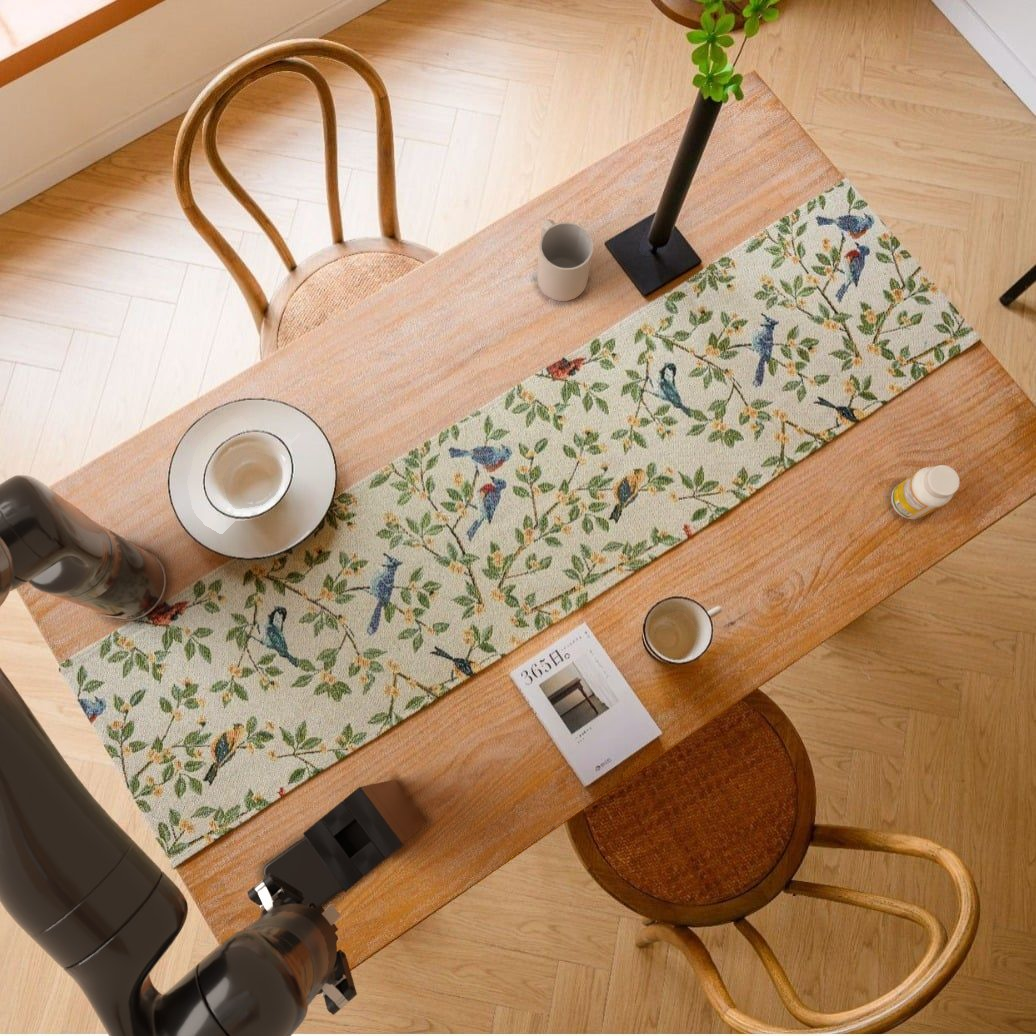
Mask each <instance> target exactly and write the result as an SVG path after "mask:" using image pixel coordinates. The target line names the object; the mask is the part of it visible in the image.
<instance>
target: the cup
mask: <svg viewBox="0 0 1036 1036" xmlns="http://www.w3.org/2000/svg"><path fill="white" fill-rule="evenodd" d="M593 252H594V240H593V238H592V235H591V234H590V233H589V231H588V230H587V229H586V228H585V227H583V225H580V224H578V223H575V222H570V221H560V222H555V221H554V220H553V219H548V218H547V219H545V220H544V221H543V222H542V223H541V225H540V240H539V245H538V255H537V256H538V258H537V268H536V269H537V271H536V278H537V279H536V281H537V284H538V287H539V289H540V290H541V292H542V294H544V295H545V296H546V297H548V298H549V299H552V300H555V301H559V302H568V301H571V300H574V299H576V298H578V297H579V296H581V294H582V293H583V292H584V290H585V289H586V288H587V284H588V281H589V280H588V279H589V275H590V269H591V265H592V264H591V263H592V258H593V254H594V253H593Z"/></svg>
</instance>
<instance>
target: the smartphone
mask: <svg viewBox="0 0 1036 1036" xmlns="http://www.w3.org/2000/svg"><path fill="white" fill-rule="evenodd" d="M404 843H405V842H404ZM404 843H403V844H402V845H401V846H399V847H398V848H397V849H396V850H395V851H394V852H392V853H391V854H390V855H389V856H388V857H386V858H385V859H384V860H383V861H382V862H381V863H383V862H384V861H386V860H387V859H388V858H390V857H391V856H392V855H394V854H395V853H396V852H398V851H399V850H400V849H401V848H402V847H403V845H404ZM381 863H379V864H378V865H380V864H381ZM270 873H272V874H273V875H275V876H276V877H278V878H280V879H281V880H283V881H285V882H286V883H288V884H289V885H291V886H293V887H294V888H296V889H297V890H299V891H300V892H301V893H302V894H303V897H304V900H303V901H302V902H301V903H302V904H303V905H306V906H307V905H308V904H311V903H314V904H315V906H316V907H319V906H320V905H321V906H322V907H323V906H325V905H327V903H328V902H330V901H332V900H333V899H334V898H335V897H337V896H338V895H339V894H341V893H342V892H343V891H344V890H343V888H342V887H341V885H340V884H339V883H338V881H337V880H336V879H335V877H334V876H333V874H332V873H331V872H330V870H329V869H328V867H327V866H326V865H325V863H324V862H323V861H322V859H321V858H320V856H319V855H318V854H317V852H316V851H315V850H314V848H313V847H312V845H311V844H310V843H309V841H308V840H307V839H306V837H305V836H303V837H302V838H300V839H299V840H297V841H296V842H294V843H293V844H292V845H290V846H289V847H287V848H286V849H285V850H284V851H282V852H281V853H280V854H278V855H276V857H274V858H272V859H271V860H270V861H268V862H267V863H266V864H265V865H264V867H263V868H262V874H263V878H265V877H266V876H267V875H268V874H270Z"/></svg>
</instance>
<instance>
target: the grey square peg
mask: <svg viewBox="0 0 1036 1036" xmlns="http://www.w3.org/2000/svg"><path fill="white" fill-rule="evenodd" d="M324 910H325V911H324V912H323V913H322V915H323V916H324V917H325V918H326V919H327V920H328V922H329V923H330V925H331V926H332V925H333V924H335V923H337V921H339V920H340V918H341V916H342V915H341V913H340V912H339V911H338V910H337V908H336V907H335V905H334V904H333V903H330V904H329V905H328V906H327V907H325V909H324Z"/></svg>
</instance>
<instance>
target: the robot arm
mask: <svg viewBox="0 0 1036 1036" xmlns="http://www.w3.org/2000/svg"><path fill="white" fill-rule="evenodd" d="M27 583H28V584H29V585H30V586H32V587H33V588H35V589H36V590H38V591H40V592H42V593H45V594H47V595H50V596H53V597H55V598H58V599H61V600H64V601H67V602H68V603H69V602H70V603H73V604H75V605H77V606H80V607H83V608H86V609H89V610H91V611H94V612H96V613H99V614H96V613H94V614H93V615H94V616H97V617H103V618H104V617H106V618H111V619H113V620H116V621H119V622H120V621H121V622H132V621H136V620H140V619H141V618H145V617H146V616H148V615H149V614H151V613H152V612H153V611H155V609H157V608H158V606H159V605H160V603H161V602H162V600H163V599H164V597H165V595H166V590H167V586H168V577H167V572H166V569H165V567H164V565H163V563H162V562H161V560H160V559H159V558H158V557H157V556H155V555H154V554H153V553H151V552H150V551H148V550H145V549H142V548H141V547H139V546H138V545H136V544H134V543H133V542H131V541H129V540H128V539H126V538H124V537H122V536H121V535H119V534H117V533H115V532H113V531H112V530H111V529H109V528H107V527H105V526H103V525H102V524H100V523H99V522H96V521H95V520H93V519H92V518H90V517H89V516H88V515H87V514H86V513H84V512H83V511H82V510H81V509H80V508H78V507H77V506H76V505H74V504H73V503H72V502H70V501H68V500H67V499H65V498H64V497H62V496H61V494H59V493H57V492H55V491H54V489H52V488H50V487H49V486H48V485H47V484H45V483H44V482H42V481H41V480H39V479H37V478H35V477H33V476H30V475H26V474H17V475H16V474H15V475H14V476H12V477H10V478H8V479H6V480H5V481H3V482H1V483H0V607H1V606H3V604H4V603H5V602H6V600H7V598H8V596H9V594H10V592H13V591H14V590H16V589H18V588H20V587H23V586H24V585H25V584H27ZM247 896H248V899H249V900H250V901H252V902H253V903H254V904H256V905H257V906H259V908H260V909H261V912H260V917H259V918H257V919H256V920H254V921H253V922H252V923H250V924H249V925H248V926H246V927H244V928H243V929H241V930H239V931H237V932H235V933H234V934H232V935H231V936H230V937H228V938H226V939H225V940H224V941H222V943H220V944H219V945H218V946H216V947H215V948H214V949H213V950H212V951H211V952H209V953H208V954H207V955H206V956H205V957H204V958H203V959H202V960H201V961H200V962H198V963H197V964H196V965H194V967H193V968H192V969H190V970H189V971H188V972H186V974H185V975H183V976H182V977H181V978H180V979H178V980H177V982H175V984H173V985H172V986H171V987H170V988H168V989H167V990H166V991H165V992H164V993H161V992H160V991H159V990H158V989H157V988H156V987H155V985H154V984H153V981H152V980H151V975H150V974H151V972H153V970H154V968H155V967H156V966H157V964H158V963H159V962H160V960H162V957H163V956H165V954H166V953H167V951H168V950H169V948H171V946H172V945H173V944H174V942H175V940H176V939H177V938H178V936H179V934H181V931H182V929H183V928H184V925H185V923H186V921H187V917H188V914H189V905H188V902H187V899H186V897H185V895H184V893H183V892H182V890H180V888H179V887H178V885H176V883H175V882H174V881H173V880H172V879H171V878H170V877H169V876H168V875H167V874H166V873H165V872H164V871H163V870H162V868H161V867H159V865H157V864H156V862H155V861H153V859H152V858H151V857H150V856H148V854H147V853H146V852H145V851H144V849H142V848H141V846H139V845H138V843H136V841H134V840H133V838H132V837H131V836H130V835H129V834H128V833H126V831H125V830H124V829H123V828H122V827H121V826H120V825H119V824H118V823H117V822H116V821H115V820H114V818H112V817H111V815H110V814H109V813H108V812H107V811H106V810H105V809H104V808H103V807H102V805H101V804H100V803H99V802H98V801H97V800H96V798H94V796H93V795H92V793H90V791H89V790H88V788H87V787H86V786H85V785H84V783H83V782H82V781H81V780H80V779H79V777H78V776H77V775H76V773H75V772H74V771H73V769H72V768H71V766H70V765H69V764H68V762H67V761H66V760H65V758H64V757H63V755H62V754H61V752H60V751H59V750H58V748H57V746H56V745H55V743H54V742H53V741H52V739H51V738H50V736H49V735H48V734H47V732H46V730H45V729H44V728H43V726H42V725H41V723H40V721H39V720H38V719H37V717H36V716H35V714H34V713H33V711H32V710H31V708H30V707H29V706H28V704H27V703H26V701H25V700H24V699H23V697H22V696H21V694H20V693H19V691H18V690H17V688H16V687H15V686H14V684H13V683H12V681H11V680H10V679H9V678H8V676H7V675H6V673H5V672H4V671H3V669H2V667H0V904H1V905H2V907H3V909H4V910H5V911H6V912H7V913H8V915H9V916H10V917H11V918H12V920H13V921H14V922H15V923H16V924H17V925H18V927H20V928H21V929H22V930H23V932H25V933H26V934H27V935H28V936H29V937H30V938H31V939H32V940H33V942H35V943H36V944H37V945H38V946H39V947H40V948H41V949H42V950H43V951H44V952H45V953H46V954H47V955H48V956H49V957H50V958H51V959H52V961H54V962H55V963H56V964H57V965H58V966H59V967H61V968H63V971H64V972H66V973H67V975H68V976H70V978H72V979H73V981H74V982H75V983H76V984H77V985H78V986H79V989H81V991H82V993H83V994H84V996H85V997H86V999H87V1001H88V1002H89V1004H90V1006H91V1008H92V1010H93V1011H94V1012H95V1014H96V1016H97V1017H98V1020H99V1021H100V1023H101V1024H102V1026H103V1028H104V1030H105V1031H106V1033H107V1035H108V1036H292V1035H294V1033H295V1032H296V1031H297V1029H298V1028H299V1027H300V1026H301V1025H302V1023H304V1021H305V1018H306V1017H307V1013H308V1010H309V1005H311V1003H312V1002H313V1001H314V999H315V998H316V996H317V995H321V996H322V998H323V999H324V1003H325V1006H326V1010H327V1011H328V1012H329V1013H330V1014H331V1015H333V1016H335V1015H336V1014H337V1013H338V1012H339V1011H340V1010H342V1008H344V1007H345V1006H346V1005H347V1004H348V1003H349V1002H350V1001H352V1000H353V999H354V998H355V997H356V996H357V995H358V992H357V989H356V986H355V981H354V979H353V975H352V971H351V968H350V964H349V961H348V957H347V955H346V953H345V952H344V951H343V950H342V949H338V944H337V943H338V941H339V936H338V935H337V932H338V931H339V928H338V926H336V924H335V923H334V924H333V925H332V926H331V925H330V923H329V922H328V920H327V919H326V918H325V917H324V916H323V915H322V913H323V912H324V911H325V909H324V907H323V906H321V905H320V906H319V907H316V906H315V904H314V903H311V904H308V905H307V906H306V905H303V904H302V903H301V902H302V901H303V900H304V897H303V894H302V893H301V892H300V891H299V890H297V889H296V888H294V887H293V886H291V885H289V884H288V883H286V882H285V881H283V880H281V879H280V878H278V877H276V876H275V875H273V874H272V873H270V874H268V875H267V876H266V877H263V878H262V879H261V880H260V881H258V882H257V883H256V884H255V885H254V886H253V887H251V888H250V889H249V890H248V891H247Z"/></svg>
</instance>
